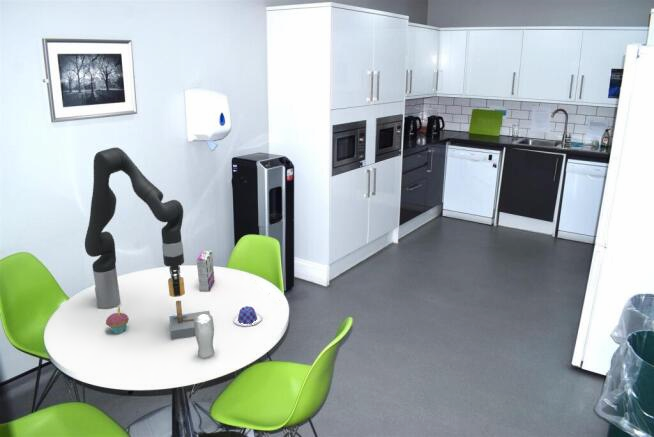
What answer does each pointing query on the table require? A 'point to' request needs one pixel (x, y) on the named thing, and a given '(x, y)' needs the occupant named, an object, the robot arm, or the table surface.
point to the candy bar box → (205, 270)
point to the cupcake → (117, 321)
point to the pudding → (247, 316)
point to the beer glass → (204, 335)
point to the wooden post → (179, 311)
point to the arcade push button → (171, 289)
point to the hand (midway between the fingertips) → (176, 291)
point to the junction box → (184, 325)
